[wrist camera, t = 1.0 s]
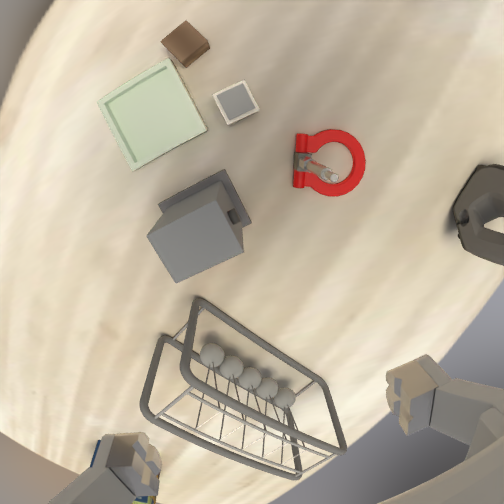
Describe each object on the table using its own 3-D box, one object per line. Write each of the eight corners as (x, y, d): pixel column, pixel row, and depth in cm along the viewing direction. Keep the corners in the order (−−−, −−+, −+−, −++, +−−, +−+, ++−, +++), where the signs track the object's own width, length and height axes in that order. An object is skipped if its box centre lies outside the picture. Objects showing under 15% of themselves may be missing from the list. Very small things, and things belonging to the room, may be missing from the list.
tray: (172, 60, 35) (168, 57, 33) (208, 130, 39) (206, 130, 37) (102, 102, 37) (96, 101, 35) (137, 169, 41) (132, 171, 39)
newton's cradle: (327, 380, 57) (351, 455, 40) (287, 409, 59) (300, 483, 43) (196, 291, 48) (181, 373, 32) (158, 333, 51) (134, 415, 34)
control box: (224, 169, 41) (220, 186, 30) (251, 221, 44) (256, 256, 33) (159, 203, 43) (133, 231, 31) (187, 252, 45) (172, 294, 34)
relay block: (243, 85, 37) (244, 78, 32) (256, 111, 39) (260, 109, 33) (214, 98, 38) (211, 93, 32) (228, 125, 39) (227, 125, 34)
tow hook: (364, 133, 41) (294, 125, 40) (420, 142, 28) (329, 128, 27) (358, 196, 44) (290, 192, 43) (408, 227, 31) (321, 224, 30)
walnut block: (190, 29, 34) (186, 20, 30) (210, 48, 35) (207, 40, 32) (166, 48, 35) (160, 41, 31) (186, 67, 36) (181, 62, 32)
